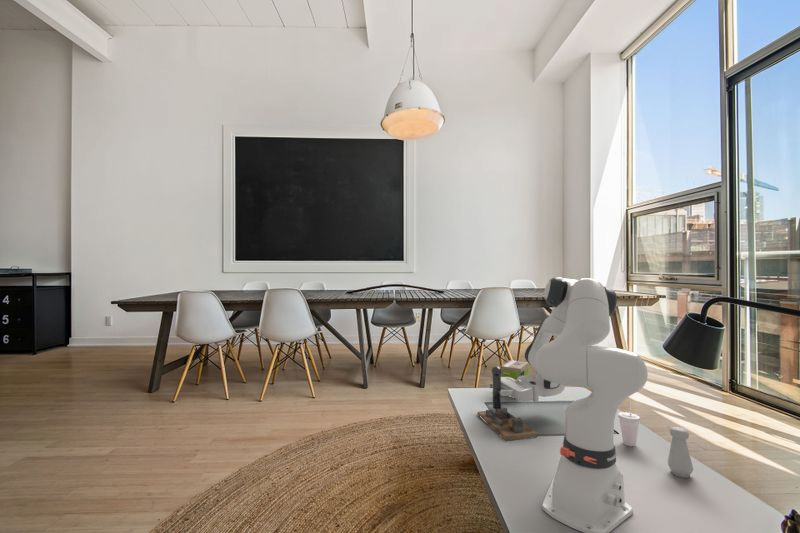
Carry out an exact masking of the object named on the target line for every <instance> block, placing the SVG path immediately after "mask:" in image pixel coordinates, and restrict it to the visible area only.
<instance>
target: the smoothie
mask: <svg viewBox="0 0 800 533" xmlns="http://www.w3.org/2000/svg"><path fill="white" fill-rule="evenodd" d="M628 406H629V411H628V412H627V411H619V412H618V413H617V417H618V420H619V423H620V430H621V437H622V443H623V445H625V446H627V445H628V447H632V446H634V447H636V446H637V439H638V432H639V425H640V422H641V417H640V416H639V414H636V413H633V412H632V410H633V409H632V402H629V405H628Z"/></svg>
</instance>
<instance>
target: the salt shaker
mask: <svg viewBox="0 0 800 533" xmlns="http://www.w3.org/2000/svg"><path fill="white" fill-rule="evenodd" d="M669 434H670V436H671V442H670V448H669V451H668V458H667V465H668V468H669V469H670V471H671V472H672V474H673V475H674V476H676V477H679V478H683V479H684V478H685V479H689V478H690V476H691V474H692V473H693V472H694V466H693V463H692V458H691V454H690V450H689V446H688V442H687V440H688V439H689V438H690V434H689V431H688V430H686V429H685V428H682V427H680V426H672V427H670V429H669Z"/></svg>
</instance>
